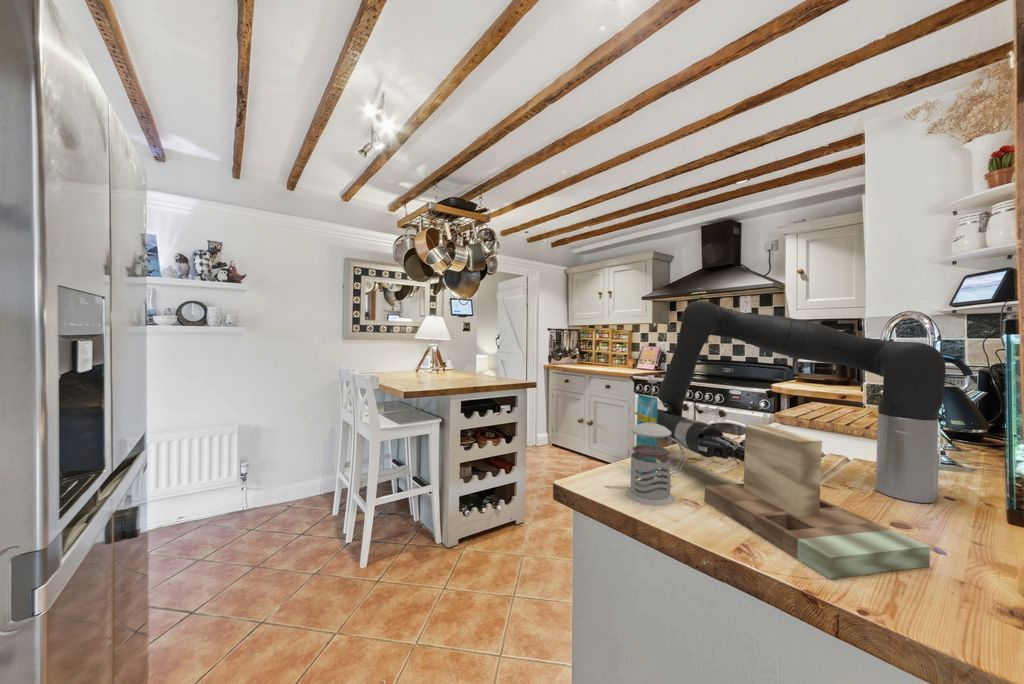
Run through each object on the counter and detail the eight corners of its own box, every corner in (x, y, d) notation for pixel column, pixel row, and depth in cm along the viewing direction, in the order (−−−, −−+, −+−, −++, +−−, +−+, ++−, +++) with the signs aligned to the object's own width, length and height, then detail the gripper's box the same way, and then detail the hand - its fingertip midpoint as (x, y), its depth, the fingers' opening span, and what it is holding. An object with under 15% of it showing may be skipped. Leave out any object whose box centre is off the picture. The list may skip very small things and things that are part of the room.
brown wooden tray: (779, 495, 84) (779, 481, 84) (929, 566, 58) (930, 546, 58) (704, 500, 80) (704, 486, 80) (829, 578, 55) (830, 557, 55)
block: (762, 488, 80) (764, 424, 80) (819, 515, 68) (821, 440, 68) (743, 489, 79) (745, 425, 79) (797, 517, 67) (799, 441, 67)
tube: (627, 470, 98) (629, 393, 97) (643, 468, 100) (644, 392, 99) (648, 480, 91) (650, 398, 91) (665, 478, 93) (667, 397, 93)
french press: (621, 485, 88) (624, 374, 88) (675, 488, 87) (678, 375, 86) (630, 504, 78) (633, 379, 78) (690, 507, 77) (694, 380, 77)
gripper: (674, 422, 95) (726, 441, 78) (722, 421, 97) (782, 439, 80) (673, 453, 95) (725, 479, 78) (721, 451, 98) (781, 475, 81)
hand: (754, 459), depth 79 cm, fingers closed
